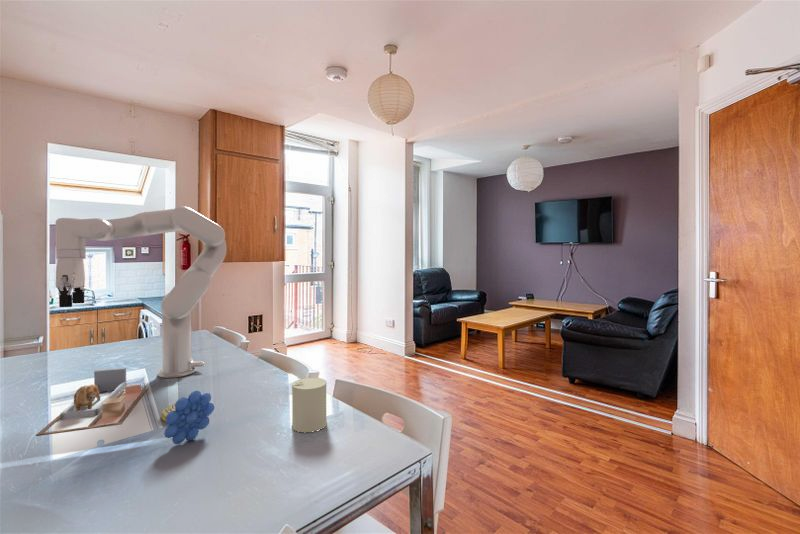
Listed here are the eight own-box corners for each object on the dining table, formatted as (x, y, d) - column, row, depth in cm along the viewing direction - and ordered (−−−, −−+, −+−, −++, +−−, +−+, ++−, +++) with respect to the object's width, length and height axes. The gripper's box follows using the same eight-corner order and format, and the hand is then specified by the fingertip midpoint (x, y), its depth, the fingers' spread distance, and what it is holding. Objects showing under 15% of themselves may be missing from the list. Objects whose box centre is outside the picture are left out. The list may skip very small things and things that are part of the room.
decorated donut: (211, 418, 106) (211, 405, 105) (168, 431, 98) (168, 417, 98) (198, 407, 113) (198, 395, 113) (157, 419, 105) (156, 405, 105)
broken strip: (142, 392, 124) (142, 383, 124) (117, 425, 100) (117, 414, 100) (125, 394, 122) (125, 385, 122) (95, 428, 99) (95, 417, 98)
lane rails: (148, 391, 125) (148, 388, 125) (121, 427, 99) (121, 423, 99) (82, 399, 119) (82, 395, 119) (36, 439, 93) (35, 434, 93)
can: (289, 421, 104) (289, 378, 103) (323, 415, 107) (323, 374, 107) (294, 436, 95) (294, 389, 95) (330, 429, 99) (330, 384, 98)
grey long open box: (126, 387, 129) (126, 367, 128) (98, 418, 105) (97, 393, 105) (96, 390, 126) (95, 370, 125) (60, 422, 102) (59, 397, 102)
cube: (124, 410, 108) (124, 396, 107) (120, 416, 104) (120, 402, 104) (107, 412, 106) (107, 398, 106) (102, 418, 102) (102, 404, 102)
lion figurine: (97, 417, 105) (96, 386, 105) (72, 422, 102) (71, 390, 102) (102, 400, 117) (101, 372, 117) (80, 404, 114) (79, 375, 114)
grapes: (206, 426, 100) (205, 382, 100) (219, 434, 96) (218, 387, 96) (157, 444, 91) (156, 395, 90) (169, 453, 87) (168, 402, 86)
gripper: (68, 254, 134) (70, 302, 135) (44, 254, 118) (45, 309, 119) (94, 254, 137) (95, 301, 137) (73, 254, 121) (75, 308, 121)
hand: (72, 305), depth 128 cm, fingers open, 9 cm apart
